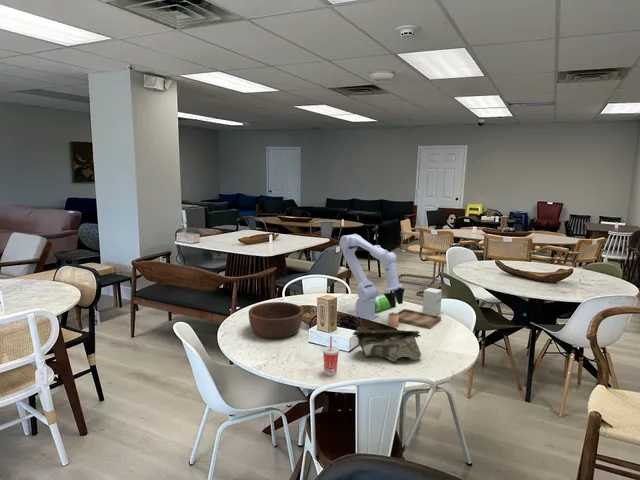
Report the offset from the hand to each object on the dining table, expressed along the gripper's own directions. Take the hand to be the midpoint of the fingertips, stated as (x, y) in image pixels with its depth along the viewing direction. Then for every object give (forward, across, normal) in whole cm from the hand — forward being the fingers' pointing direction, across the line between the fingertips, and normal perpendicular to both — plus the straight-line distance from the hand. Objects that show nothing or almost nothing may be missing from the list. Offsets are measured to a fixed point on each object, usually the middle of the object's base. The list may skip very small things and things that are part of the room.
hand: (396, 305), depth 200 cm
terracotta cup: (+10, 0, +4) cm, 10 cm away
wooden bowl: (+1, -40, +43) cm, 59 cm away
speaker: (+5, +19, +19) cm, 28 cm away
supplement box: (+11, +29, -4) cm, 31 cm away
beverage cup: (+13, -58, +2) cm, 59 cm away
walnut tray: (+10, +14, -2) cm, 17 cm away
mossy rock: (+15, -32, -8) cm, 36 cm away
